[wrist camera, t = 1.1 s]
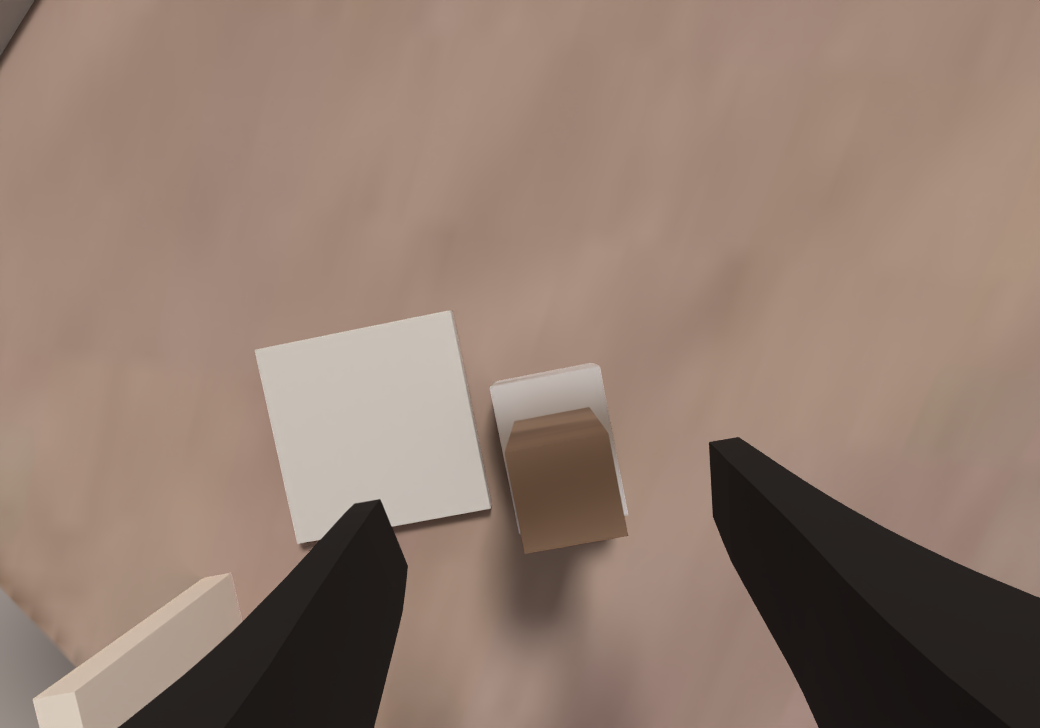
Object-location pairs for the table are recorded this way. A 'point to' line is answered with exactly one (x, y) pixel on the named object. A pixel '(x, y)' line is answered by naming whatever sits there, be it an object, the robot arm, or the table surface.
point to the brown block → (560, 457)
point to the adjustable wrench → (11, 18)
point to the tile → (143, 659)
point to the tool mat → (375, 424)
